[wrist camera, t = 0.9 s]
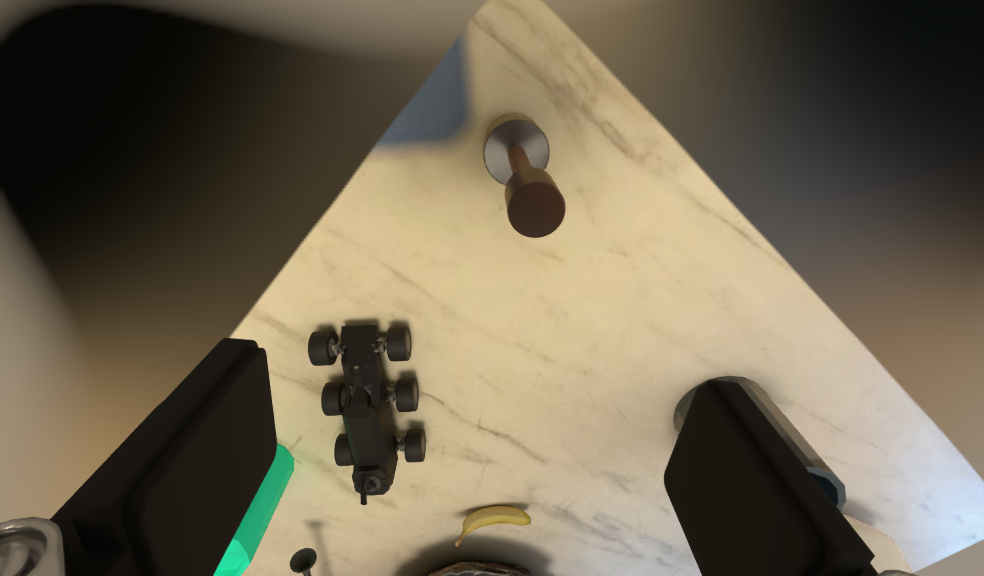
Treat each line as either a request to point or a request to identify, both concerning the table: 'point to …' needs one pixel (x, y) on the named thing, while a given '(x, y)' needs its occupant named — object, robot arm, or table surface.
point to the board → (480, 570)
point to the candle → (257, 516)
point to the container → (786, 431)
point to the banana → (493, 519)
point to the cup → (880, 547)
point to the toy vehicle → (368, 403)
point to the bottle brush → (524, 174)
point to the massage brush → (303, 561)
